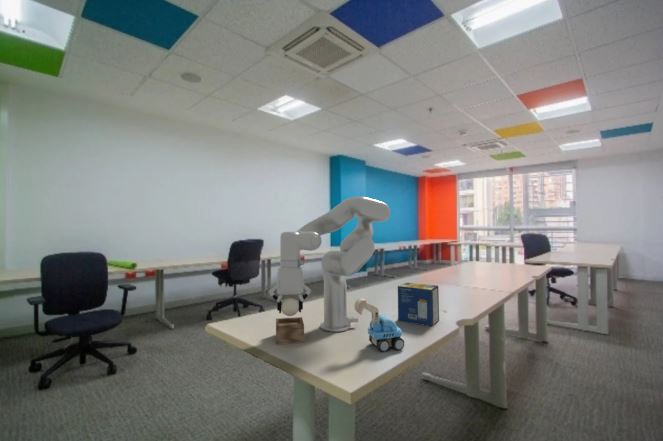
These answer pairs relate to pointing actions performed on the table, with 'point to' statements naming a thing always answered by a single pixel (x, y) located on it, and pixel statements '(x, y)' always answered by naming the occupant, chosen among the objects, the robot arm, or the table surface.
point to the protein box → (418, 303)
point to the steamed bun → (290, 306)
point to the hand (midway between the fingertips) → (290, 311)
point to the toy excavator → (381, 328)
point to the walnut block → (289, 330)
